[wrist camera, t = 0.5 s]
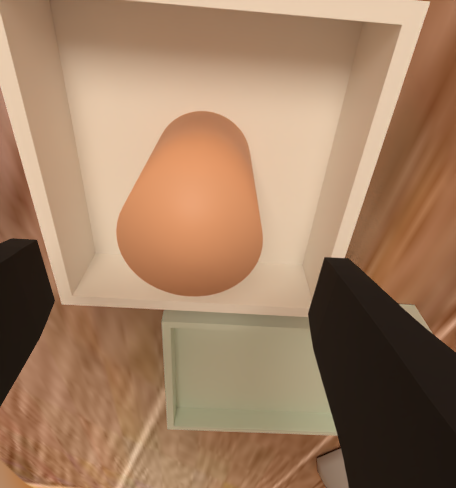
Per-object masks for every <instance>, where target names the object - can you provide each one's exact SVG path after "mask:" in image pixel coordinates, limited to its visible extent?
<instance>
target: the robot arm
mask: <svg viewBox="0 0 456 488" xmlns="http://www.w3.org/2000/svg"><path fill="white" fill-rule="evenodd" d="M54 302H55V300H54V296H53V293H52V289H51V286H50V283H49V279H48V276H47V273H46V269H45V266H44V262H43V259H42V256H41V252H40V249H39V245H38V242H37V240H29V239H9V240H7V241H5V242H2V243H0V406H1V405H2V403H3V401H4V399H5V398H6V396H7V394H8V392H9V391H10V389H11V387H12V386H13V384H14V382H15V380H16V379H17V377H18V375H19V373H20V372H21V370H22V368H23V367H24V365H25V363H26V361H27V360H28V358H29V356H30V354H31V353H32V351H33V349H34V347H35V345H36V344H37V342H38V340H39V338H40V336H41V334H42V332H43V329H44V327H45V325H46V322H47V320H48V317H49V315H50V312H51V309H52V307H53V304H54ZM308 318H309V325H310V333H311V339H312V345H313V350H314V354H315V358H316V361H317V365H318V368H319V372H320V376H321V379H322V383H323V386H324V390H325V393H326V396H327V400H328V403H329V407H330V410H331V414H332V417H333V421H334V424H335V428H336V431H337V435H338V438H339V443H340V447H341V451H342V455H343V459H344V465H345V470H346V475H347V480H348V486H349V488H456V353H455V352H454V351H453V350H452V349H450V348H449V347H448V346H447V345H446V344H444V343H443V342H442V341H441V340H439V339H438V338H437V337H436V336H435V335H433V334H432V333H431V332H430V331H429V330H427V329H426V328H425V327H424V326H423V325H422V324H420V323H419V322H418V321H417V320H416V319H415V318H413V317H412V316H411V315H410V314H409V313H408V312H407V311H406V310H404V309H403V308H402V307H401V306H400V305H399V304H398V303H397V302H396V301H394V300H393V299H392V298H391V297H390V296H389V295H388V294H387V293H386V292H385V291H384V290H382V289H381V288H380V287H379V286H378V285H377V284H376V283H375V282H374V281H373V280H372V279H371V278H370V277H368V276H367V275H366V274H365V273H364V272H363V271H362V270H361V269H360V268H359V267H358V266H356V265H355V264H354V263H353V262H352V261H351V260H349V259H348V258H332V257H324V261H323V264H322V267H321V271H320V274H319V278H318V281H317V284H316V288H315V291H314V295H313V298H312V302H311V305H310V308H309V312H308Z"/></svg>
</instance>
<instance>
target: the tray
mask: <svg viewBox="0 0 456 488" xmlns="http://www.w3.org/2000/svg"><path fill="white" fill-rule="evenodd" d="M399 305H400V306H401V307H402V308H403V309H404V310H406V311H407V312H408V313H409V314H410V315H411V316H412V317H413V318H415V319H416V320H417V321H418V322H419V323H420V324H422V325H423V326H424V327H425V328H426V329H427V330H429V331H430V332H431V330H430V329H429V327H428V326H427V324H426V322H425V321H424V319H423V318H422V316H421V315H420V313H419V311H418V310H417V308H416V307H415V305H406V304H399ZM161 322H162V340H163V359H164V377H165V396H166V414H167V429H173V430H199V431H226V432H253V433H279V434H306V435H333V436H338V435H337V431H336V428H335V424H334V421H333V417H332V414H331V410H330V407H329V403H328V400H327V396H326V393H325V390H324V386H323V383H322V379H321V376H320V372H319V368H318V365H317V361H316V358H315V354H314V350H313V345H312V339H311V333H310V325H309V318H308V317H295V316H276V315H257V314H238V313H219V312H199V311H180V310H164V312H163V317H162V321H161ZM431 333H432V332H431ZM432 334H433V333H432Z"/></svg>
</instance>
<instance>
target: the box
mask: <svg viewBox="0 0 456 488" xmlns="http://www.w3.org/2000/svg"><path fill="white" fill-rule="evenodd" d="M429 4H430V2H427V1H416V0H0V86H1V90H2V93H3V97H4V101H5V104H6V108H7V111H8V115H9V118H10V122H11V125H12V129H13V133H14V136H15V140H16V143H17V147H18V150H19V154H20V157H21V161H22V164H23V168H24V172H25V175H26V179H27V182H28V186H29V189H30V193H31V196H32V200H33V204H34V207H35V211H36V214H37V218H38V221H39V225H40V228H41V232H42V236H43V239H44V243H45V246H46V250H47V253H48V257H49V260H50V264H51V268H52V271H53V275H54V278H55V282H56V285H57V289H58V292H59V296H60V299H61V303H62V304H65V305H84V306H103V307H123V308H142V309H161V310H180V311H199V312H219V313H238V314H257V315H276V316H295V317H308V312H309V308H310V305H311V302H312V298H313V295H314V291H315V288H316V284H317V281H318V278H319V274H320V271H321V267H322V264H323V261H324V257H332V258H345V255H346V252H347V249H348V246H349V243H350V240H351V237H352V234H353V231H354V228H355V225H356V222H357V219H358V216H359V213H360V210H361V207H362V204H363V201H364V198H365V195H366V192H367V189H368V186H369V183H370V180H371V177H372V174H373V171H374V168H375V165H376V162H377V159H378V156H379V153H380V150H381V147H382V144H383V141H384V138H385V135H386V132H387V129H388V126H389V123H390V120H391V117H392V114H393V111H394V108H395V105H396V103H397V100H398V97H399V94H400V91H401V88H402V85H403V82H404V79H405V76H406V73H407V70H408V67H409V64H410V61H411V58H412V55H413V52H414V49H415V46H416V43H417V40H418V37H419V34H420V31H421V28H422V25H423V22H424V19H425V16H426V13H427V10H428V7H429ZM195 111H208V112H214V113H217V114H220V115H222V116H224V117H226V118H228V119H229V120H231V121H232V122H233V123H234V124H236V126H237V127H238V128H239V129H240V130H241V131H242V133H243V134H244V136H245V138H246V140H247V143H248V146H249V150H250V156H251V162H252V169H253V175H254V181H255V188H256V194H257V201H258V207H259V213H260V220H261V226H262V233H263V246H262V251H261V255H260V257H259V260H258V262H257V264H256V266H255V267H254V269H253V270H252V271H251V273H250V274H249V275H248V276H247V277H246V278H245V279H244V280H242V281H241V282H240V283H238V284H237V285H235V286H233V287H232V288H230V289H228V290H225V291H223V292H220V293H217V294H212V295H207V296H181V295H176V294H171V293H168V292H165V291H162V290H160V289H157V288H155V287H153V286H152V285H150V284H148V283H147V282H145V281H144V280H142V279H141V278H140V277H139V276H137V275H136V274H135V273H134V272H133V271H132V270H131V268H130V267H129V266H128V265H127V263H126V262H125V260H124V258H123V256H122V255H121V252H120V250H119V247H118V243H117V236H116V228H117V221H118V217H119V214H120V212H121V210H122V207H123V205H124V204H125V202H126V200H127V198H128V196H129V194H130V192H131V191H132V189H133V187H134V185H135V183H136V181H137V179H138V178H139V176H140V174H141V172H142V170H143V168H144V166H145V165H146V163H147V161H148V159H149V157H150V155H151V153H152V152H153V150H154V148H155V146H156V144H157V142H158V140H159V139H160V137H161V135H162V133H163V132H164V130H165V129H166V127H167V126H168V125H169V124H170V123H171V122H172V121H174V120H175V119H176V118H178V117H180V116H182V115H184V114H186V113H190V112H195Z"/></svg>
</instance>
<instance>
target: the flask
mask: <svg viewBox="0 0 456 488" xmlns="http://www.w3.org/2000/svg"><path fill="white" fill-rule="evenodd" d="M317 471H318V473H319V475H320V477H321V479H322V481H323V483H324V485H325V487H326V488H349V486H348V480H347V475H346V470H345V465H344V459H343V455H342V451H341V448H340V449H338V450H336V451H333V452H331V453H328V454H326V455H324V456H321V457H319V458H317Z"/></svg>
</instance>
